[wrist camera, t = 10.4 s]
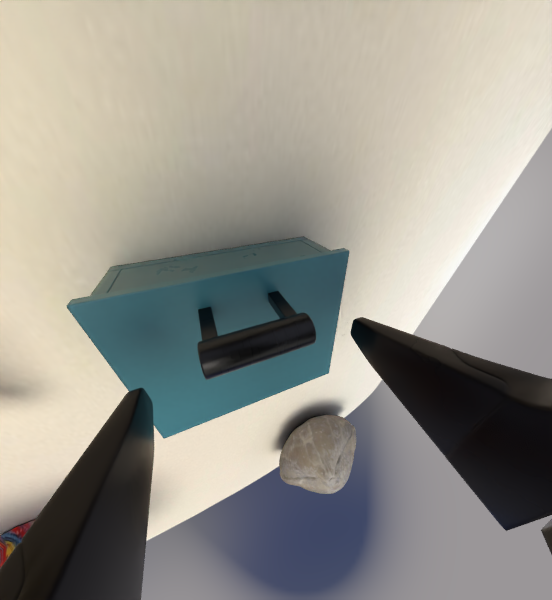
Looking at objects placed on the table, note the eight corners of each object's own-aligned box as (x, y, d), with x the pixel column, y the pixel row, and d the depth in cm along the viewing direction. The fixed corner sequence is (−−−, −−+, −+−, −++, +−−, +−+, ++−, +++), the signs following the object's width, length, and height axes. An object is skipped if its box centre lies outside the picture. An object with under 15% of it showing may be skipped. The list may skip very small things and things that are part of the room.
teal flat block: (110, 266, 13) (79, 309, 9) (304, 236, 18) (342, 256, 14) (167, 376, 20) (164, 430, 16) (300, 334, 24) (325, 368, 20)
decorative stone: (299, 486, 39) (301, 564, 24) (268, 435, 42) (254, 478, 27) (360, 436, 40) (397, 483, 26) (326, 390, 43) (342, 408, 28)
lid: (70, 299, 9) (-8, 391, 5) (344, 247, 13) (409, 278, 9) (164, 431, 16) (159, 513, 12) (325, 368, 20) (359, 414, 16)
